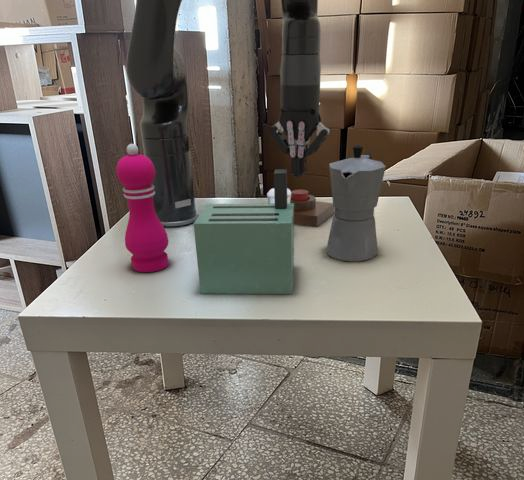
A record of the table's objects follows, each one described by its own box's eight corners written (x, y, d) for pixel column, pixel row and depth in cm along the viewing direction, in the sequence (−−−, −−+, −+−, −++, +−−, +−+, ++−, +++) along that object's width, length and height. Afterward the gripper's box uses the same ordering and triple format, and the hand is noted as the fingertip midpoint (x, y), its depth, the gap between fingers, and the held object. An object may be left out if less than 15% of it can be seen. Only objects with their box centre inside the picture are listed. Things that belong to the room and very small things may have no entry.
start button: (288, 201, 109) (288, 193, 108) (295, 197, 112) (295, 188, 111) (304, 203, 107) (304, 194, 106) (311, 198, 110) (311, 190, 109)
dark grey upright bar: (274, 208, 79) (273, 173, 76) (275, 203, 81) (275, 169, 78) (286, 208, 78) (286, 172, 76) (287, 203, 81) (287, 169, 78)
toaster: (200, 293, 80) (193, 223, 74) (211, 268, 88) (205, 203, 82) (291, 294, 78) (291, 222, 73) (294, 268, 87) (293, 202, 81)
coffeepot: (369, 269, 85) (378, 154, 76) (314, 262, 89) (316, 152, 79) (388, 239, 97) (398, 137, 88) (339, 234, 101) (344, 135, 91)
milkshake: (292, 230, 104) (292, 179, 99) (290, 239, 99) (290, 186, 94) (269, 230, 104) (268, 179, 99) (267, 239, 100) (265, 186, 95)
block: (264, 220, 110) (263, 201, 108) (284, 207, 117) (284, 189, 115) (317, 227, 105) (317, 207, 103) (334, 213, 113) (335, 194, 111)
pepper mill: (136, 277, 86) (113, 150, 76) (124, 263, 92) (102, 143, 81) (177, 268, 89) (161, 144, 78) (164, 255, 94) (147, 138, 84)
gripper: (340, 80, 98) (335, 174, 107) (277, 79, 103) (277, 169, 112) (326, 84, 93) (322, 183, 102) (260, 82, 98) (261, 177, 107)
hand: (298, 175), depth 107 cm, fingers closed
